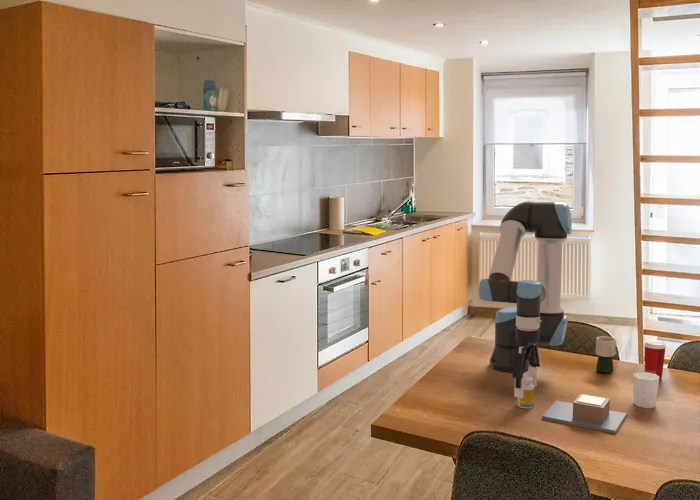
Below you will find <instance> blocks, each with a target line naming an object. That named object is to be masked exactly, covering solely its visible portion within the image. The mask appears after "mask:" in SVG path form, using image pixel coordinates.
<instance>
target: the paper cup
mask: <svg viewBox="0 0 700 500" xmlns="http://www.w3.org/2000/svg"><path fill="white" fill-rule="evenodd" d="M643 347H644V372H648V373H653V374H656V375H658V376H659V382H661V381H662V378H663V371H664V364H665V355H666V348H667V345H666V343H665V342H664V341H661V340H657V339H655V340H654V339H648V340H645V342H644V343H643Z"/></svg>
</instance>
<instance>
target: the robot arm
mask: <svg viewBox="0 0 700 500" xmlns="http://www.w3.org/2000/svg"><path fill="white" fill-rule="evenodd" d="M570 209H571V208H570V206H569V204H567V202H557V201H522V202H520V203H517V204H516V205H514V206H513V207H512V208H511V209H510V210H508V212H506V214H505V215H504V216H503V218H502V220H501V222H500V226H499V233H500V235H499V239H498V242H497V246H496V249H495V252H494V257H493V261H492V264H491V267H490V271H489V273H488V274H489V275H488V278H483V279H481V280H480V281H479V284H478V296H479V300H480V301H487V302H492V303H494V302H495V303H507V304H516V306H509V307H504V308H501V309H498V310H497V311H496V313H495V321H494V324H495V325H494V326H495V327H494V348H493V351H492V353H491V356H490V359H489V366H491V367H490V368H492V367H493V368H494V370H496V369H497V371H499V370H501V371H500V372H504V371H505V372H506V373H512V374H511V378H514V392H513V393H514V395H513V397H515V398H517V397H518V398H523V389H524V378H523V376H524V374H525V372H528V375H527V377H531V378H532V379H533V382H532V384H533V385H534V388H535V387H537V384H538V383H537V378H538V368H540V367H541V363H540V355H539V347H538V345H543V346H544V345H546V346H549V347H550V346H561V345H562V344H563V342H564V340H565V338H566V337H565V336H566V331H567V329H568V328H567V327H568V320H569V316H567V315H566V314H564V313H565V310H564V309H563V308H562V307H561V284H562V259H563V243H564V242H565V241H566V240H567V239H568V236H569V235H571V234H572V232H573V231H572V229H573V227H572V226H573V225H572V214H571V210H570ZM526 233H532V234H533V233H534V239H535V240H537V242H538V249H537V250H538V251H537V252H538V254H537V276H536V277H537V278H536V279H537V280H534V279H532V280H531V279H523V280H519V281H516V280H514V281H513V280H512V275H513V272H514V268H515V264H516V260H517V256H518V253H519V248H520V246H521V245H520V244H521V241H522V238H524V236H525V235H526ZM493 368H492V369H493ZM505 372H504V373H505Z"/></svg>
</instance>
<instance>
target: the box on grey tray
mask: <svg viewBox="0 0 700 500" xmlns="http://www.w3.org/2000/svg"><path fill="white" fill-rule="evenodd" d="M610 402H611V399H610V398H606V397H602V396H594V395H589V394H584V393H580V394H579V395H578V396H577V397H576V398H575V399H574V400H573V402H567V401H563V400H555V402H554V403H552V405H551V406H550V407H549V408H548V409H547V410H546V411H545V412H544V413H543V414H542V416H541V419H542V420H546V421H551V422H554V423H555V422H556V423H561V424H565V425H568V426H569V425H570V426H575V427H579V428H580V427H581V428H585V429H588V430H589V429H590V430H595V431H599V432H604V433H605V432H606V433H609V434H617V432H618V431H619V430H620V427H621V426H622V424H623V423H624V421H625V419H626V418H627V412H619V411H615V410H611V409H610V407H611V406H610V405H611V403H610Z"/></svg>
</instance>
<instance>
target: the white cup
mask: <svg viewBox="0 0 700 500" xmlns="http://www.w3.org/2000/svg"><path fill="white" fill-rule="evenodd" d="M632 376H633V377H632V383H633V384H632V396H633V405H634V406H636V407H639V408H643V409H653V408H656V407H657V406H656V404H657V398H658V392H659V382H660V381H659V376H658V375H656V374H653V373H648V372H645V371H636V372H633V374H632Z"/></svg>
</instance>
